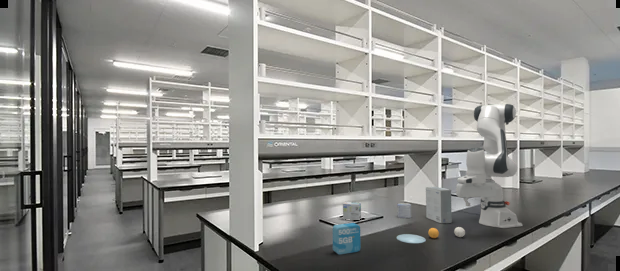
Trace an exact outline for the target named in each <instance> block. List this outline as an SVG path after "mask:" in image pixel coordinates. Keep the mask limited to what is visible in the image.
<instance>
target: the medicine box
mask: <svg viewBox="0 0 620 271" xmlns="http://www.w3.org/2000/svg"><path fill="white" fill-rule="evenodd" d="M397 217H398V218H400V219H412V205H411V204H410V203H406V202H405V203H402V202H401V203H397Z"/></svg>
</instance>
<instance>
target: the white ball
mask: <svg viewBox="0 0 620 271" xmlns="http://www.w3.org/2000/svg"><path fill="white" fill-rule="evenodd" d="M453 233H454V234H455V236H456V237H458V238H462V237H464V236H465V235H466V230H465V229H464V228H463V227H461V226H458V227H457V226H456V227H455V228H454V231H453Z"/></svg>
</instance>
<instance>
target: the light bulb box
mask: <svg viewBox="0 0 620 271" xmlns="http://www.w3.org/2000/svg"><path fill="white" fill-rule="evenodd" d="M343 219H350V220H360V219H361V220H362V202H360V201H359V202H356V201H355V202H353V201H345V202H343V203H342V220H343ZM361 220H360V221H361Z"/></svg>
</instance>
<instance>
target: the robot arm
mask: <svg viewBox="0 0 620 271" xmlns="http://www.w3.org/2000/svg"><path fill="white" fill-rule="evenodd" d="M516 115H517V111H516V108H515V106H514V104H511V103H506V104H503V103H494V104H487V105H486V104H485V105H479V106H476V107H475V108H474V110H473V118H474V121H476V131H477V133H478V135H480V136H482V137H483V145H482V147H483V148H481V147H472V148H469V149H467V152H466V168H467V169H466V175H462V176H460V177H458V178H457V179H456V181H457V184H456V185H455V186H456V187H455V195H456V196H457V198H462V199H463V201H464V202H465V206H466V207H471V202H469V198H470V199H471V198H473V199H474V198H480V217H479V220H478V223H479V224H480V225H483V226H487V227H494V228H501V229H508V228H515V227H516V228H517V227H523V225H524V224H523V223H522V222H520V221H518V216H517V214H516V213H515V212H514V211H512V210H510V208H508V207H507V206H510V205H511V202H510V201H505V200H504V192H503V191H504V190H503V187H502V185H500V184H499V183H498V182H496V181H495V179H492V177H495V178H509V177H514V176H515V175H516V174H517V172H518V165H517V163H516V162H515V161H514V160H513V159H511V158H510V157H509V156H508V155H509V154H508V143H507V136H506V135H507V134H506V132H507V131H506V126H507V125H509V123H512V122H513V121H514V119H515V117H516ZM485 152H486V153H487V154H485ZM506 205H507V206H506Z"/></svg>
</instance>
